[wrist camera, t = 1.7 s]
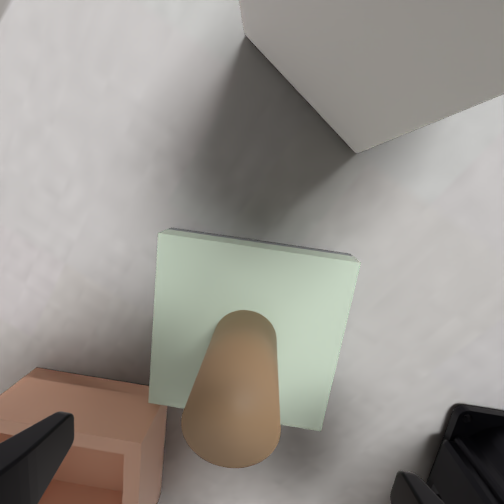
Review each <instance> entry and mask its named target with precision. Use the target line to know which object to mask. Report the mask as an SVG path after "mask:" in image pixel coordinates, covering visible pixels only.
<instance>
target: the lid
mask: <svg viewBox="0 0 504 504" xmlns="http://www.w3.org/2000/svg"><path fill="white" fill-rule="evenodd" d="M360 265H361V262H359V261H358V260H357V259H356V258H354V257H353V256H348V255H341V254H334V253H327V252H320V251H314V250H307V249H300V248H293V247H286V246H279V245H273V244H266V243H259V242H252V241H245V240H238V239H232V238H225V237H218V236H211V235H204V234H197V233H191V232H184V231H177V230H170V229H167V230H164V231H162V232H159V233H158V242H157V259H156V277H155V294H154V311H153V329H152V346H151V364H150V381H149V398H148V403H153V404H159V405H165V406H171V407H177V408H183V409H184V410H183V413H182V418H181V427H182V432H183V436H184V438H185V440H186V442H187V444H188V445H189V447H190V448H191V449H192V450H193V451H194V452H195V453H196V454H197V455H198V456H200V457H201V458H202V459H204V460H206V461H208V462H210V463H212V464H215V465H218V466H222V467H227V468H243V467H248V466H252V465H255V464H257V463H259V462H261V461H263V460H264V459H266V458H267V457H268V456H269V455H270V454H271V453H272V452H273V451H274V449H275V448H276V446H277V444H278V442H279V439H280V433H281V425H285V426H291V427H297V428H303V429H309V430H315V431H321V429H322V425H323V421H324V416H325V412H326V408H327V404H328V399H329V395H330V391H331V387H332V383H333V378H334V374H335V370H336V366H337V362H338V357H339V353H340V349H341V345H342V340H343V336H344V332H345V328H346V324H347V319H348V315H349V311H350V307H351V302H352V298H353V294H354V290H355V286H356V281H357V277H358V273H359V269H360Z"/></svg>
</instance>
